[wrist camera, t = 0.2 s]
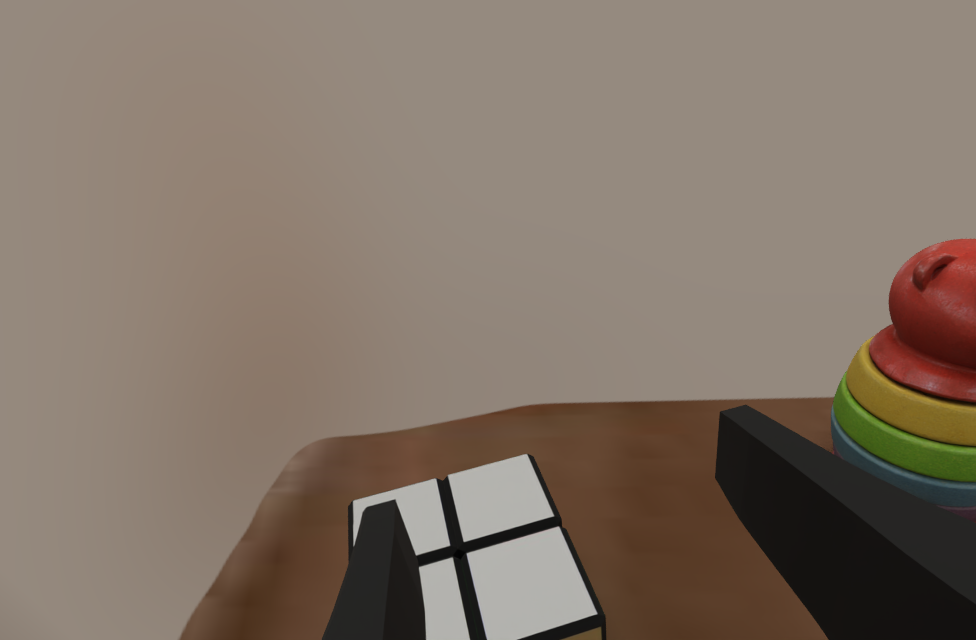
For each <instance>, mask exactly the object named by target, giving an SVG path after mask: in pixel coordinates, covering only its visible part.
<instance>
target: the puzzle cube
mask: <svg viewBox="0 0 976 640" xmlns="http://www.w3.org/2000/svg"><path fill="white" fill-rule="evenodd" d="M394 499H396V502H397V505H398V508H399V510H400V513H401V516H402V519H403V521H404V524H405V527H406V529H407V532H408V535H409V538H410V540H411V543H412V546H413V548H414V551H415V554H416V557H417V559H418V564H419V571H420V578H421V585H422V592H423V599H424V607H425V622H426V640H606V618H605V614H604V612H603V610H602V608H601V605H600V603H599V601H598V599H597V597H596V594H595V592H594V590H593V588H592V585H591V583H590V581H589V579H588V576H587V574H586V572H585V570H584V568H583V565H582V563H581V561H580V559H579V556H578V554H577V552H576V550H575V548H574V545H573V543H572V541H571V539H570V536H569V534H568V532H567V530H566V529H565V528H562V520H561V517H560V515H559V512H558V510H557V508H556V506H555V503H554V501H553V499H552V497H551V494H550V492H549V490H548V488H547V486H546V483H545V481H544V479H543V477H542V474H541V472H540V470H539V468H538V466H537V463H536V461H535V459H534V457H533V456H531V455H529V454H524V455H521V456H517V457H513V458H510V459H506V460H502V461H498V462H495V463H491V464H487V465H484V466H480V467H476V468H473V469H469V470H465V471H461V472H458V473H454V474H450V475H448V476H447V477H446V478H445V479H444V480H443V481H442V480H439V479H437V478H435V479H431V480H427V481H424V482H420V483H416V484H412V485H409V486H405V487H401V488H398V489H394V490H390V491H386V492H383V493H379V494H375V495H372V496H368V497H364V498H361V499H357V500H353V501H352V502H351V504H350V505H349V506H348V544H349V561H350V558H351V555H352V551H353V548H354V544H355V541H356V537H357V533H358V529H359V525H360V521H361V517H362V512H363V511H364V510H365V508H366V507H368V506H372V505H375V504H379V503H383V502H387V501H390V500H394Z"/></svg>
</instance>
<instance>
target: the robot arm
mask: <svg viewBox="0 0 976 640" xmlns="http://www.w3.org/2000/svg"><path fill="white" fill-rule="evenodd" d="M715 478H716V480H717V482H718V483H719V485H720V487H721V489H722V490H723V492H724V494H725V496H726V498H727V499H728V501H729V503H730V504H731V506H732V508H733V509H734V511H735V513H736V514H737V516H738V518H739V519H740V521H741V522H742V523H743V525H744V526H745V528H746V529H747V530H748V532H749V533H750V534H751V536H752V537H753V538H754V540H755V541H756V542H757V544H758V545H759V546H760V548H761V549H762V550H763V552H764V553H765V554H766V556H767V557H768V558H769V560H770V561H771V562H772V563H773V565H774V566H775V567H776V569H777V570H778V571H779V573H780V574H781V575H782V577H783V578H784V579H785V581H786V582H787V583H788V584H789V586H790V587H791V588H792V590H793V591H794V592H795V594H796V595H797V596H798V598H799V599H800V600H801V602H802V603H803V604H804V605H805V607H806V608H807V609H808V611H809V612H810V613H811V615H812V616H813V618H814V619H815V620H816V622H817V623H818V625H819V626H820V628H821V629H822V630H823V632H824V633H825V635H826V636H827V638H828V639H829V640H976V523H975V522H973V521H971V520H968V519H966V518H964V517H961V516H959V515H957V514H954V513H952V512H950V511H947V510H945V509H943V508H940V507H938V506H936V505H934V504H931V503H929V502H927V501H925V500H923V499H920V498H918V497H916V496H914V495H912V494H910V493H908V492H906V491H904V490H902V489H900V488H898V487H896V486H894V485H892V484H890V483H888V482H886V481H884V480H881V479H879V478H877V477H875V476H874V475H872V474H870V473H868V472H866V471H864V470H862V469H860V468H858V467H856V466H854V465H853V464H851V463H849V462H847V461H845V460H843V459H841V458H840V457H838V456H836V455H834V454H832V453H830V452H829V451H827V450H825V449H823V448H821V447H820V446H818V445H816V444H814V443H813V442H811V441H809V440H807V439H806V438H804V437H802V436H800V435H799V434H797V433H795V432H793V431H792V430H790V429H788V428H786V427H785V426H783V425H781V424H779V423H778V422H776V421H774V420H772V419H771V418H769V417H767V416H765V415H764V414H762V413H760V412H758V411H757V410H755V409H753V408H751V407H749V406H747V405H743V406H739V407H736V408H732V409H728V410H725V411H721V412H720V419H719V432H718V446H717V459H716V473H715ZM322 640H426V622H425V607H424V599H423V592H422V585H421V578H420V571H419V564H418V559H417V557H416V554H415V551H414V548H413V546H412V543H411V540H410V538H409V535H408V532H407V529H406V527H405V524H404V521H403V519H402V516H401V513H400V510H399V508H398V505H397V502H396V499H394V500H390V501H387V502H383V503H379V504H375V505H372V506H368V507H366V508H365V510H364V511H363V512H362V517H361V521H360V525H359V529H358V533H357V537H356V541H355V544H354V548H353V551H352V555H351V558H350V561H349V564H348V568H347V571H346V574H345V577H344V580H343V583H342V586H341V589H340V592H339V595H338V597H337V600H336V603H335V606H334V609H333V612H332V615H331V617H330V620H329V622H328V625H327V627H326V630H325V632H324V635H323V637H322Z"/></svg>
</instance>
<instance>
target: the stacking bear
mask: <svg viewBox="0 0 976 640" xmlns="http://www.w3.org/2000/svg"><path fill="white" fill-rule="evenodd" d="M889 311H890V316H891V320H892V322H893V324H892V325H889V326H888V327H886V328H884V329H883V330H881V331H880V332H879V333H877V334H876V335H875V336H873V337H871V338H870V339H869V340H867V341H866V342H865V343H864V344H863V345H862V346H861V347H860V349H859V350H858V351H857V353H856V355H855V356H854V358H853V360H852V362H851V364H850V366H849V368H848V370H847V371H846V372H845V374H844V376H843V378H842V380H841V382H840V384H839V386H838V389H837V392H836V394H835V397H834V401H833V406H832V410H831V434H832V439H833V450H834V451H833V452H832V454H834V455H836V456H838V457H840V458H841V459H843V460H845V461H847V462H849V463H851V464H853V465H854V466H856V467H858V468H860V469H862V470H864V471H866V472H868V473H870V474H872V475H874V476H875V477H877V478H879V479H881V480H884V481H886V482H888V483H890V484H892V485H894V486H896V487H898V488H900V489H902V490H904V491H906V492H908V493H910V494H912V495H914V496H916V497H918V498H920V499H923V500H925V501H927V502H929V503H931V504H934V505H936V506H938V507H940V508H943V509H945V510H947V511H950V512H952V513H954V514H957V515H959V516H961V517H964V518H966V519H968V520H971V521H973V522H975V523H976V239H957V240H950V241H945V242H941V243H937V244H935V245H932V246H929V247H927V248H925V249H923V250H922V251H920V252H918V253H917V254H916V255H914V256H913V257H911V258H910V259H909V260H908V261H907V262H906V263H905V264H904V265H903V266H902V267H901V268H900V270H899V271H898V272H897V274H896V276H895V278H894V280H893V283H892V285H891V289H890V293H889Z"/></svg>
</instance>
